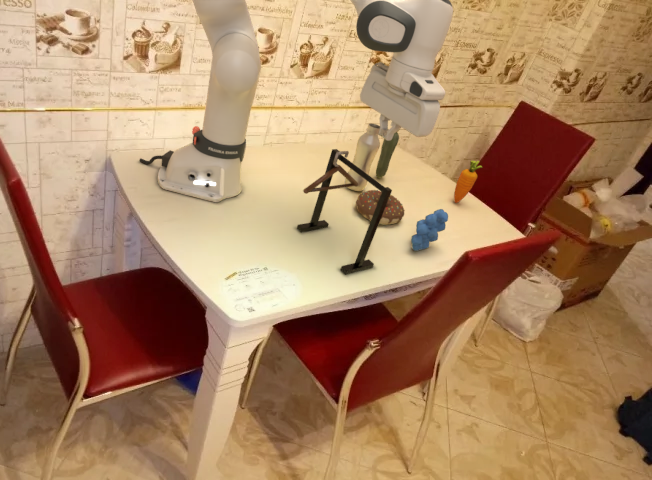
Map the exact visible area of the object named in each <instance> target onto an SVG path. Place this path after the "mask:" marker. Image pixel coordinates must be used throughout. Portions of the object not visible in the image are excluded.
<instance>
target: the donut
mask: <svg viewBox="0 0 652 480" xmlns="http://www.w3.org/2000/svg"><path fill="white" fill-rule="evenodd" d="M381 193H382V192H381V191H380V190H378V189H377V190H376V189H371V190H367V191H361V192H360V193H359V194H358V197H357V199H356V201H355V203H356V210H357V211H358V213H360V214H361V216H362V217H364V218H365V219H366V220H368V221H369V222H371V219H372V216H373V214H374V211H375V209H376V206H377V203H378V201H379V198H380V196H381ZM405 211H406V210H405V208H404V206H403V203H402V202H401V201H400V200H399V199H398V198H397V197H395V196H394V195H392V194H390V197H389V199H388V202H387V205H386V207H385V210H384V212H383V215H382V217H381V220H380V222H379V225H387V226H388V225H393V224H398V223H400V222H401V221H402V220H403V217H404V216H405Z"/></svg>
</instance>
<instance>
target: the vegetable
mask: <svg viewBox="0 0 652 480" xmlns="http://www.w3.org/2000/svg"><path fill="white" fill-rule="evenodd" d="M400 130H401V128H400V129H399V130H398V131H397V132H396V133H394V135H393V138H392V140H390V141H387V140H385V139H384V138H383V141H382V144H381V148H380V149H381V150H380V154H379V158H378V161H377V164H376V168H375V169H376V170H375V176H376V178H377V179H382V178H383V177H385V176H386V174H387V172H388V170H389V167H390V162H391V159H392V157H393V154H394V153H395V149H396V148H397V145H398V144H399V140H400V134H399V131H400Z"/></svg>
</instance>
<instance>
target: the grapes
mask: <svg viewBox="0 0 652 480" xmlns="http://www.w3.org/2000/svg"><path fill="white" fill-rule="evenodd" d="M448 221H449V214H448V213H447V211H445V210H444V209H443V208H439V209H436V210H434V211H433V213H430V214H427V215H425V217H424V219H420V220H418V221H416V223H415V225H416V228H415V232H416V234H413V235H411V238H410V242H411V248H412V251H414V252H417V251H420V250H427V249H429V248H430V243H434V242H436V241H438V239H439V233H440V232H443V231H445V230H446V223H447V222H448Z"/></svg>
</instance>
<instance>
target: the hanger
mask: <svg viewBox="0 0 652 480" xmlns="http://www.w3.org/2000/svg"><path fill="white" fill-rule="evenodd" d="M349 153H350V151H349V150H343V151H340V152H336V155H335V158H334V162H333V164H334V165H335V167H334V168H332V169H331V170H330V171H328V172H327V173H326V174H325V173H323V175H322V176H320V177H319V178H317V179H316V180H315V181H313V182H312V183H310V184H309V185H308V186H307V187H305V188H304V189H303V194H305V195H306V194H309V193H314V192H320V191H323V190H328V191H329V190H336V189H337V190H338V189H344V188H348V187H352V186H355V187H357V186H358V182H357V181H355V180H354V179H353V178H352V177H351V176H350V175H349V174H348V171H346V170H345V169H344V168H343V166H341V165H340V164H338V160H339V159H338V156H339V155H342V156H343V155H344V157H345V158H346V159H348V157H349ZM337 159H338V160H337ZM336 162H337V163H336ZM337 172H339V174H341V176H343V177H344V179H345V178H346V179H347V180H348V181H349V182H350V184H345V183H343V184H342V183H341V184H336V185H330V186H327V187H321V186H320V187H318V186H319V185H322V182H323V181H325V180H326V179H328V178H329V177H330V176H332V175H333V176H334V175H335V174H336V173H337ZM333 176H332V177H333Z"/></svg>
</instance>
